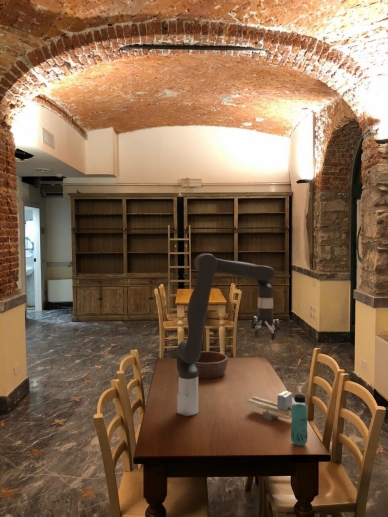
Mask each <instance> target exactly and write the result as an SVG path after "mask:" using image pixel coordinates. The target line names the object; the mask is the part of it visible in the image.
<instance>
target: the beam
mask: <svg viewBox="0 0 388 517" xmlns="http://www.w3.org/2000/svg"><path fill="white" fill-rule="evenodd" d="M277 403H278V401H277V402H276V401H274V400H273V401H272V400H269V399H266V398H262V397H259V396H255V395H253V396H252V397H251V398H248V399H247V404H246V405H247V408H249V409H251V410H252V409H253V410H256V411H260V412H262V420H266V421H269V422H272V421H273V420H274V419H276V418H277V417H279V418H283V419H285V420H291V419H292V406H291V407H290V410H286V411H285V410H282V409H279V408H277Z"/></svg>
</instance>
